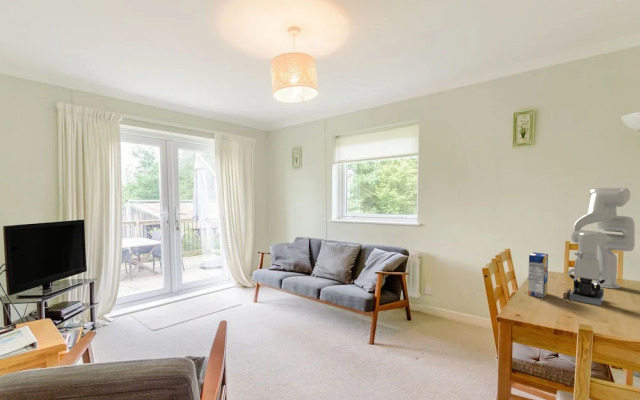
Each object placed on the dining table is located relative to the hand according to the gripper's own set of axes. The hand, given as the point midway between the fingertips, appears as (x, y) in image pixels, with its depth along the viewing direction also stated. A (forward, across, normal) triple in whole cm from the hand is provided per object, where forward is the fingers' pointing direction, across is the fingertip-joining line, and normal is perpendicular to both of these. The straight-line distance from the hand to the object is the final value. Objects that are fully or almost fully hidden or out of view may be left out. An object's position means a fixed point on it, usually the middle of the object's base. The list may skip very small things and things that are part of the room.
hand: (586, 289), depth 163 cm
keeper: (+5, 0, 0) cm, 5 cm away
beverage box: (+6, -20, -8) cm, 22 cm away
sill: (+5, -8, 0) cm, 10 cm away
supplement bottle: (+6, 0, 0) cm, 6 cm away
